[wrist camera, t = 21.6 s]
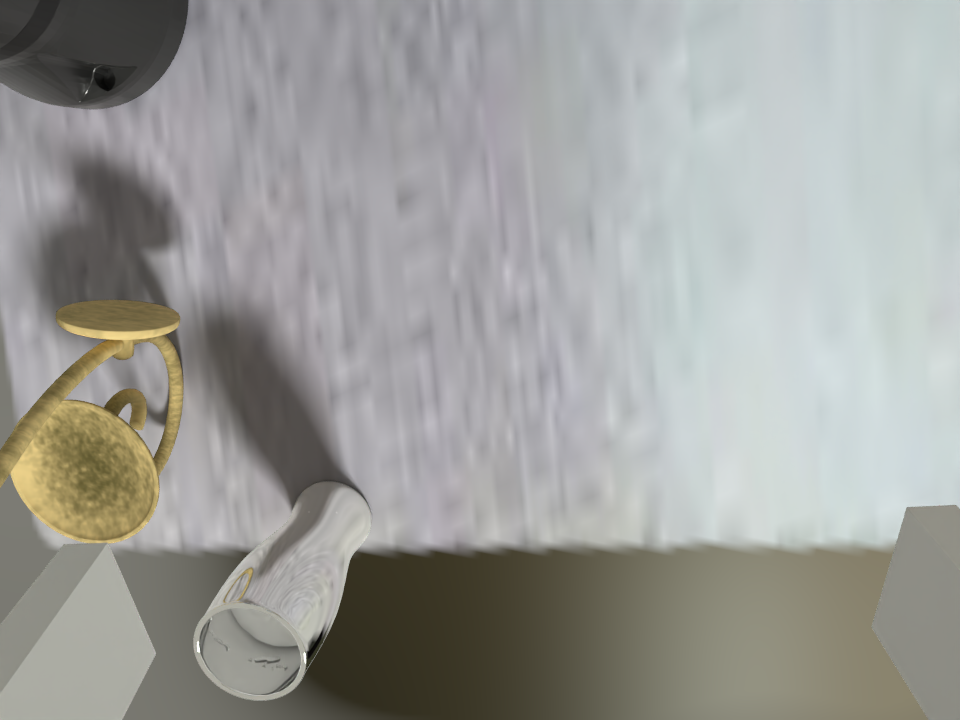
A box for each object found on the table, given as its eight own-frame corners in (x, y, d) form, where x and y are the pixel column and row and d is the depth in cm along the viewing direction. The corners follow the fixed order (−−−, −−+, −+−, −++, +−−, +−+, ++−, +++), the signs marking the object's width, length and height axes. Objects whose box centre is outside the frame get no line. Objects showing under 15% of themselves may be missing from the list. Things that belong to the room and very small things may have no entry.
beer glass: (388, 548, 52) (325, 697, 37) (304, 561, 53) (212, 710, 39) (364, 468, 50) (288, 592, 36) (278, 482, 51) (171, 608, 37)
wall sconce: (117, 280, 48) (-319, 402, 24) (245, 304, 47) (-70, 452, 23) (118, 455, 52) (-252, 707, 28) (235, 478, 51) (-40, 755, 28)
